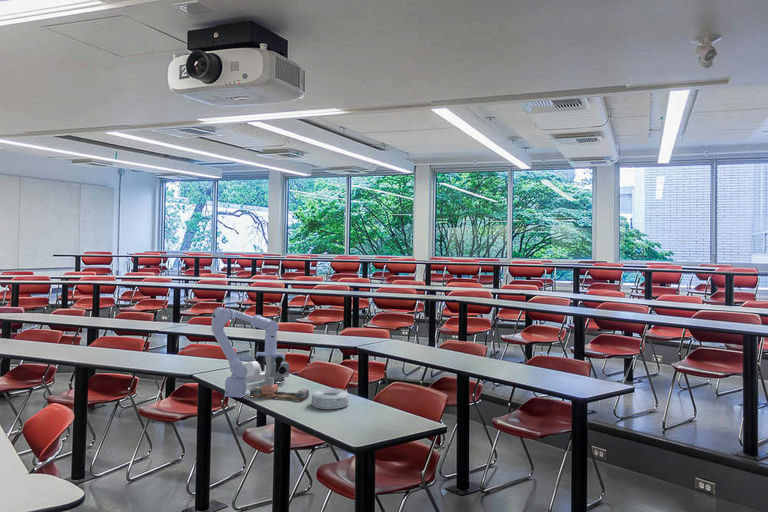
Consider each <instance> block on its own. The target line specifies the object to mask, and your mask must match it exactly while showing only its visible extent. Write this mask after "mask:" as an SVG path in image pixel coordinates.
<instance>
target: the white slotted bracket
mask: <svg viewBox="0 0 768 512" xmlns="http://www.w3.org/2000/svg"><path fill="white" fill-rule="evenodd" d="M245 366H246V367H247V369H248V372H247V375H246V382H248V383H252V382H251V381H255V382H257V381H256V380H261V381H263V380H262V379H265V373H266V370H264V371H261V366H260V364H259V361H258V360H257V361H256V360H253V361H248V362H247V363H246V365H245Z"/></svg>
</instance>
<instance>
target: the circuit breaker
mask: <svg viewBox="0 0 768 512" xmlns="http://www.w3.org/2000/svg"><path fill="white" fill-rule="evenodd" d="M276 358H277V357H266V358H265V371H266V373H265V380H266V378H267V377H274V383H276V382H278V381H279V382H282V381H284V382H285V381H286V380H285V378H289V377H290V363H289V362H288V361H286V357H285V358H284V359H283V361H282V363H281V365H280V368H279V372H276V361H275V359H276ZM265 380H264V381H265Z"/></svg>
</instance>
